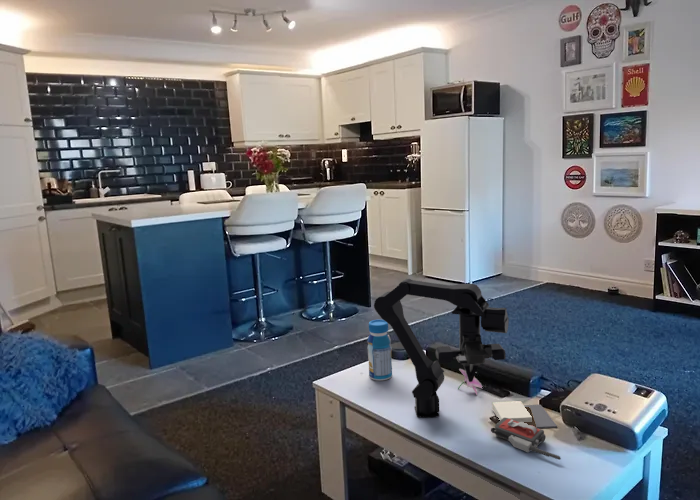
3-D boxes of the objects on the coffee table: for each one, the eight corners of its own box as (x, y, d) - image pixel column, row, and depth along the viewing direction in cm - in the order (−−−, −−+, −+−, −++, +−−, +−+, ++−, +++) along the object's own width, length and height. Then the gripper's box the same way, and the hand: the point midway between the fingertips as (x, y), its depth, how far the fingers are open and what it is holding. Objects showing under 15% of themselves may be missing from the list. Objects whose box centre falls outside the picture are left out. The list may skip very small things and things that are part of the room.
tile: (502, 418, 150) (532, 417, 150) (492, 402, 160) (520, 400, 160) (502, 426, 151) (532, 424, 151) (492, 409, 161) (520, 407, 161)
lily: (462, 403, 168) (476, 381, 166) (440, 380, 176) (453, 359, 173) (482, 402, 176) (496, 381, 173) (459, 380, 183) (472, 359, 181)
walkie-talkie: (486, 438, 146) (558, 465, 132) (485, 423, 145) (558, 449, 131) (502, 424, 152) (573, 449, 138) (502, 410, 151) (573, 433, 137)
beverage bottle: (383, 383, 183) (381, 327, 180) (363, 378, 189) (361, 323, 185) (397, 374, 190) (395, 320, 186) (378, 369, 195) (375, 317, 192)
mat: (506, 429, 149) (506, 428, 149) (494, 408, 162) (494, 406, 162) (557, 427, 149) (557, 425, 149) (540, 405, 162) (540, 404, 162)
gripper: (441, 340, 143) (442, 395, 146) (511, 337, 143) (511, 391, 146) (434, 327, 154) (436, 378, 157) (499, 324, 154) (499, 375, 157)
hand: (470, 381), depth 154 cm, fingers closed
